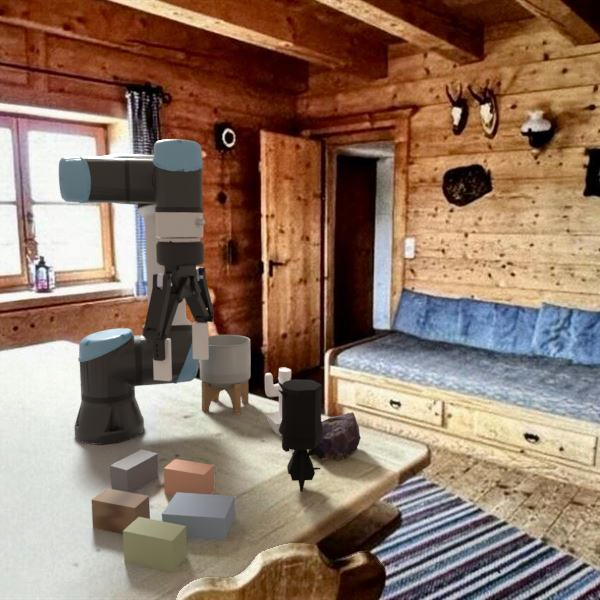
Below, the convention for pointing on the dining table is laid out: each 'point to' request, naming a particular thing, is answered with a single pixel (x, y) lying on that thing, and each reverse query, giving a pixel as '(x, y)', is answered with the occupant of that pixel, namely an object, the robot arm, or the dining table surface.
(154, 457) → the charcoal block
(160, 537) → the olive block
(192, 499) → the slate slab
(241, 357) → the planter
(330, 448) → the rock
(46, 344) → the dining table surface
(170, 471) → the terracotta block
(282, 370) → the figurine
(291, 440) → the toy
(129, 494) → the walnut block
